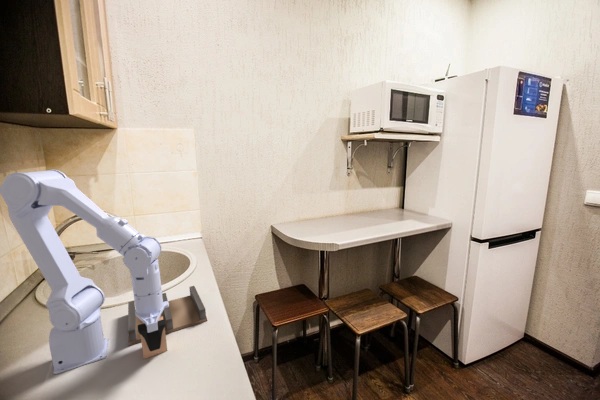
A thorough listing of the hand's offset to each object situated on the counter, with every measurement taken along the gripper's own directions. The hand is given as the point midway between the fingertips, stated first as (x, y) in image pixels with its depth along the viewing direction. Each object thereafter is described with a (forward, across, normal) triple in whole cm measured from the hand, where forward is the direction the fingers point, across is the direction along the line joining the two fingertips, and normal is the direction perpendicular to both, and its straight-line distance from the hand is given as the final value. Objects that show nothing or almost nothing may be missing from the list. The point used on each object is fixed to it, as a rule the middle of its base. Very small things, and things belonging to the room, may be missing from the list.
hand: (154, 342), depth 67 cm
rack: (+2, +13, -4) cm, 14 cm away
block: (+2, 0, 0) cm, 2 cm away
